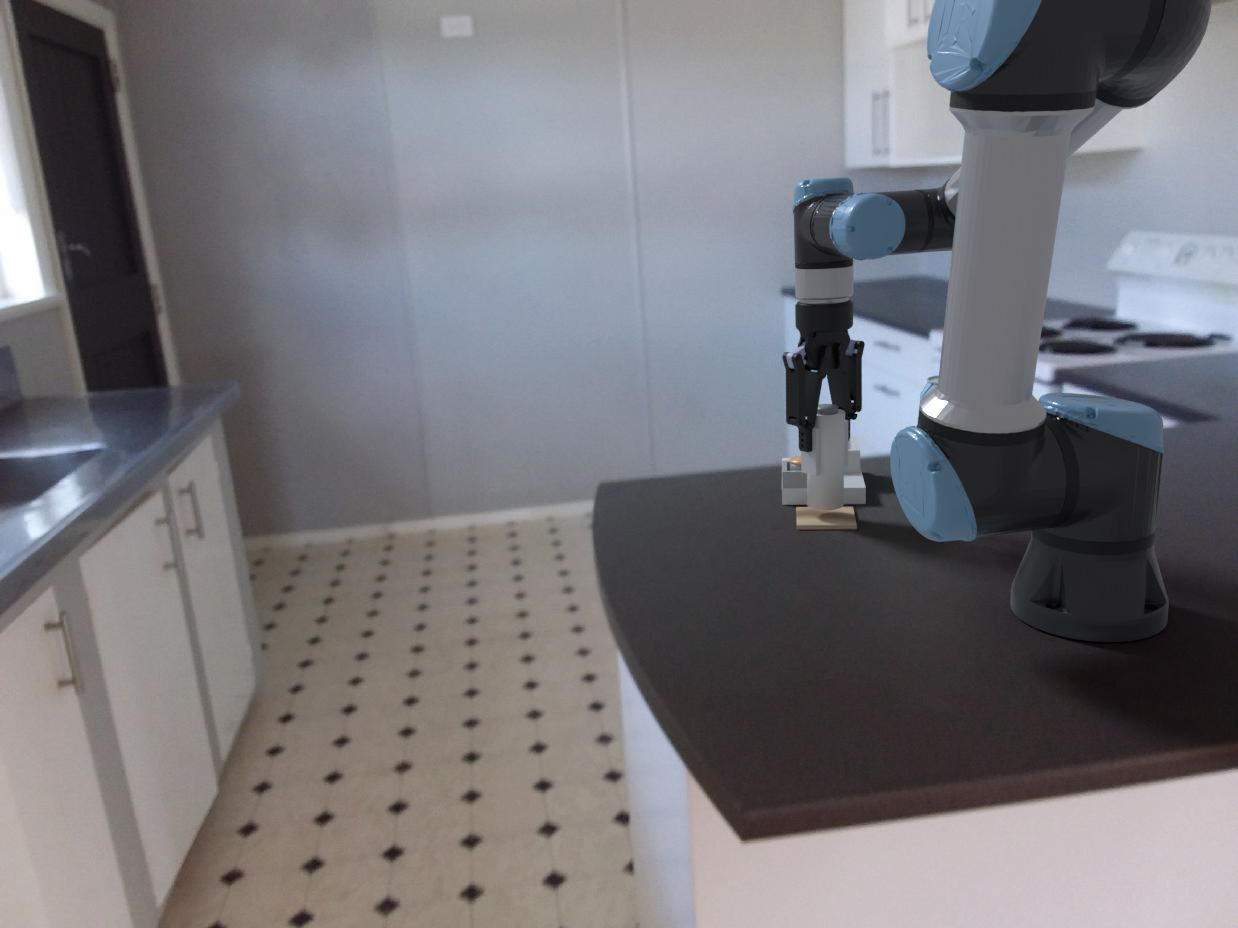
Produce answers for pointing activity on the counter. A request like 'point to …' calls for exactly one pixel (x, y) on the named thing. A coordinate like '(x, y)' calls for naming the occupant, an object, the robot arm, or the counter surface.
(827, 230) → the robot arm
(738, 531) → the counter surface
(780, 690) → the counter surface
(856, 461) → the housing
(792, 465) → the tan dome
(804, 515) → the coaster
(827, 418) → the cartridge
